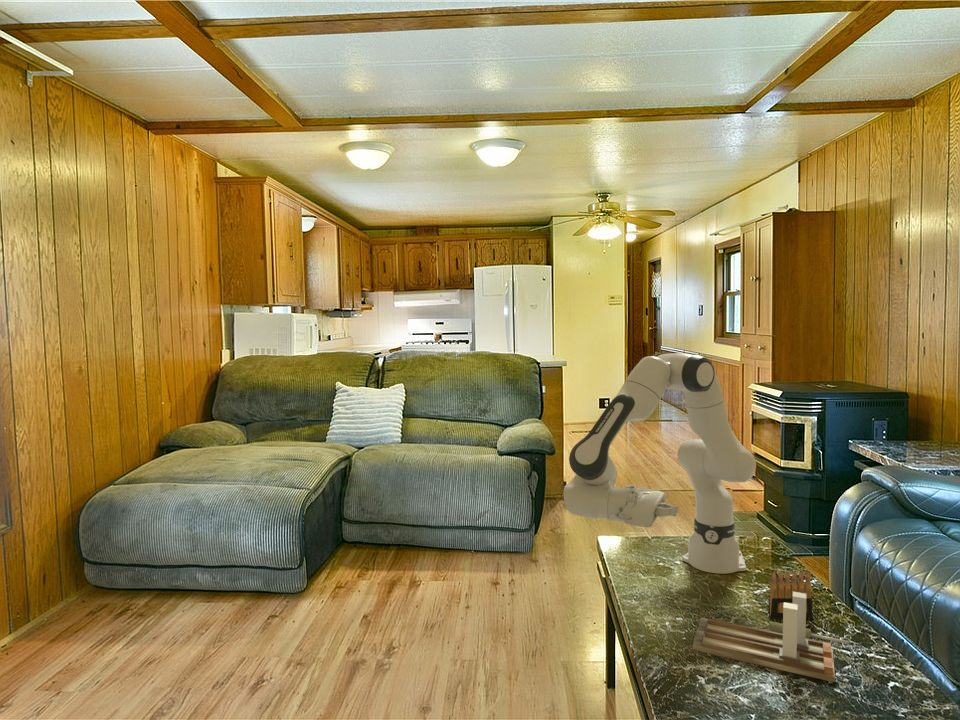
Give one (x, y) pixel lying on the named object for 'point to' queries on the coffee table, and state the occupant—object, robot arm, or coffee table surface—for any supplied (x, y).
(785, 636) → the beige rectangular pillar
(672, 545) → the coffee table surface
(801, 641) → the pillar on grey base
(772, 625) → the screwdriver
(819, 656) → the wooden double track board
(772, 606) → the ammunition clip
